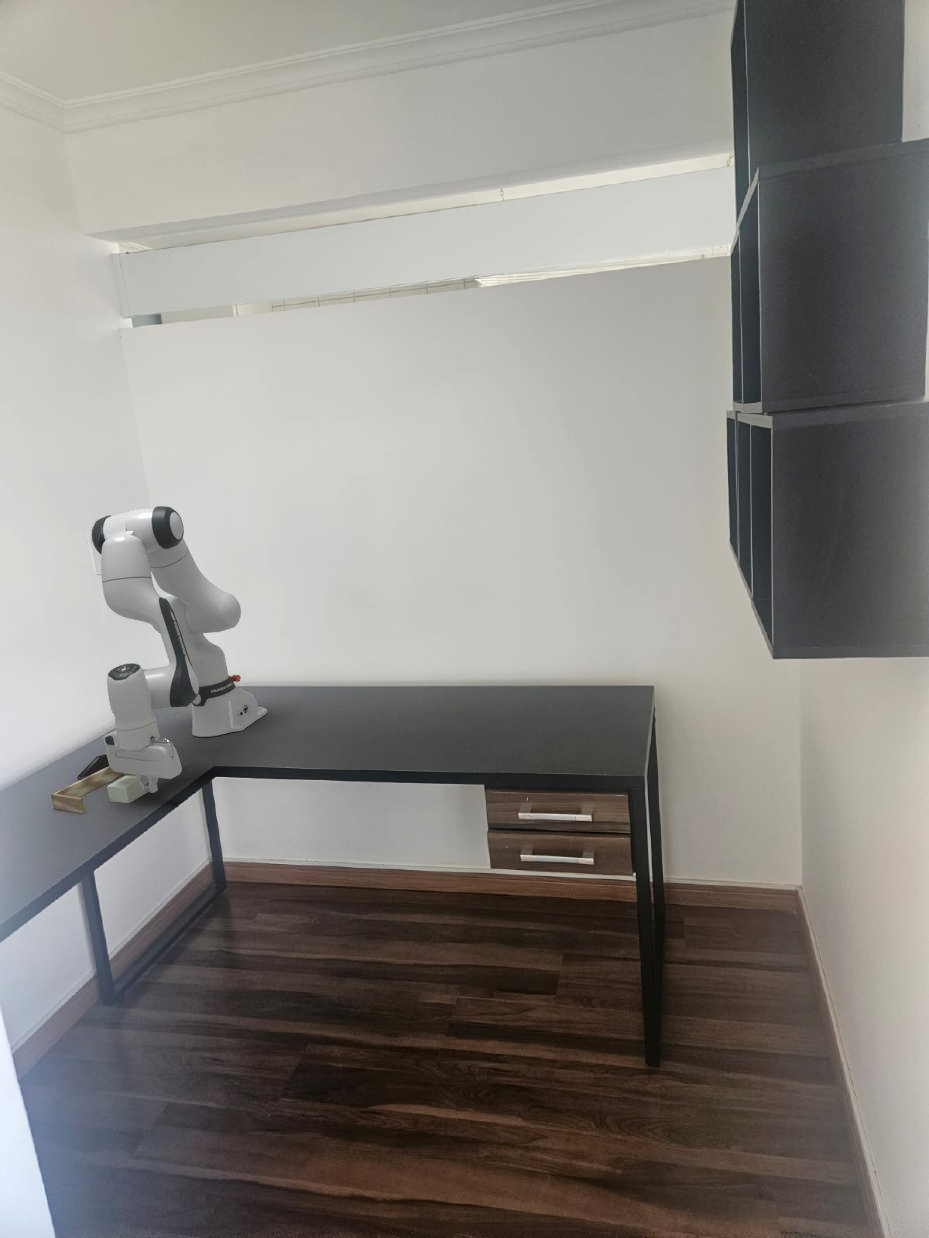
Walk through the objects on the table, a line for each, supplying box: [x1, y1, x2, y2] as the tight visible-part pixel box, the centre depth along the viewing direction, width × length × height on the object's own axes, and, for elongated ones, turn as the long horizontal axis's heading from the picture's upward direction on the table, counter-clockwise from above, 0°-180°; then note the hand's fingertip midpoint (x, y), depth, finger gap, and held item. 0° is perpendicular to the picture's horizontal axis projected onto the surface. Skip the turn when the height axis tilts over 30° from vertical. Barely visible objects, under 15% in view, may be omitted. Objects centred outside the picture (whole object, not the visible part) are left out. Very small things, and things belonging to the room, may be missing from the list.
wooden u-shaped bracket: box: [50, 766, 136, 814], centre depth 208 cm, size 20×10×4 cm, turn 152°
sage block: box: [106, 775, 148, 804], centre depth 203 cm, size 6×6×4 cm
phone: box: [76, 754, 110, 781], centre depth 226 cm, size 8×1×15 cm
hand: (150, 791), depth 200 cm, fingers closed
